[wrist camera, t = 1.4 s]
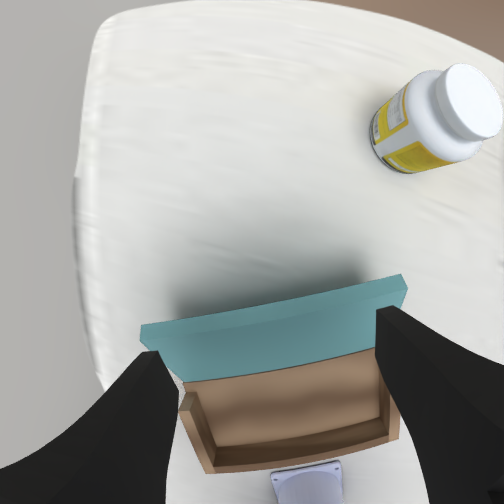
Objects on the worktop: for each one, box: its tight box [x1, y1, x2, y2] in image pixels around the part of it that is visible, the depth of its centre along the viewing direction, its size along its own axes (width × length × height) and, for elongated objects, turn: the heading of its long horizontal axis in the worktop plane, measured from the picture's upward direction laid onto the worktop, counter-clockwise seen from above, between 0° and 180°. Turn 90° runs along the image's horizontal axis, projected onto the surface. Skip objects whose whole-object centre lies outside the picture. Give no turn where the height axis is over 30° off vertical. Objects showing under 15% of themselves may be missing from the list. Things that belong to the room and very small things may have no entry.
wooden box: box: [178, 347, 400, 474], centre depth 24 cm, size 9×18×5 cm, turn 102°
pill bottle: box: [370, 63, 503, 174], centre depth 18 cm, size 6×6×12 cm
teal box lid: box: [140, 274, 408, 382], centre depth 21 cm, size 1×17×8 cm
